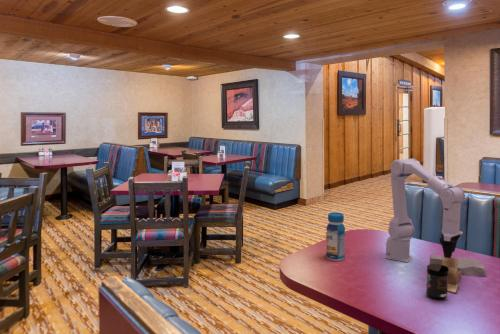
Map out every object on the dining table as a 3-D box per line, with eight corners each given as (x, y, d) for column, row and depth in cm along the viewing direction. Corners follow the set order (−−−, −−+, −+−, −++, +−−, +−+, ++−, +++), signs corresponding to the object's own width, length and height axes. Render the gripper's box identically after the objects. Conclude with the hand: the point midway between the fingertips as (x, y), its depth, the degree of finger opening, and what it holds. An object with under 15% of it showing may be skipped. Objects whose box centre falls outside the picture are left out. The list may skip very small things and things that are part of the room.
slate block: (430, 270, 156) (430, 258, 155) (429, 266, 160) (429, 254, 159) (442, 271, 154) (443, 259, 153) (441, 267, 158) (441, 255, 157)
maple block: (441, 272, 145) (442, 259, 144) (444, 268, 149) (444, 256, 148) (455, 275, 142) (455, 262, 142) (457, 271, 146) (457, 258, 145)
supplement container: (435, 290, 137) (436, 262, 136) (451, 298, 131) (453, 269, 130) (421, 294, 135) (422, 265, 133) (437, 302, 129) (438, 272, 127)
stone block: (461, 280, 150) (488, 276, 148) (459, 268, 150) (486, 264, 148) (451, 269, 161) (476, 266, 159) (449, 258, 161) (474, 255, 159)
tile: (435, 289, 138) (435, 287, 138) (439, 282, 144) (439, 281, 144) (456, 293, 134) (456, 292, 134) (459, 286, 140) (459, 285, 140)
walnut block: (435, 281, 146) (435, 272, 146) (441, 275, 151) (441, 266, 151) (455, 286, 141) (456, 277, 141) (461, 280, 146) (461, 271, 146)
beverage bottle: (347, 261, 167) (347, 216, 164) (327, 261, 167) (327, 216, 164) (342, 254, 175) (343, 211, 172) (324, 254, 175) (324, 211, 173)
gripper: (460, 225, 135) (458, 262, 137) (466, 216, 146) (464, 250, 148) (438, 222, 139) (436, 258, 141) (445, 214, 151) (444, 247, 152)
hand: (449, 254), depth 145 cm, fingers open, 7 cm apart
